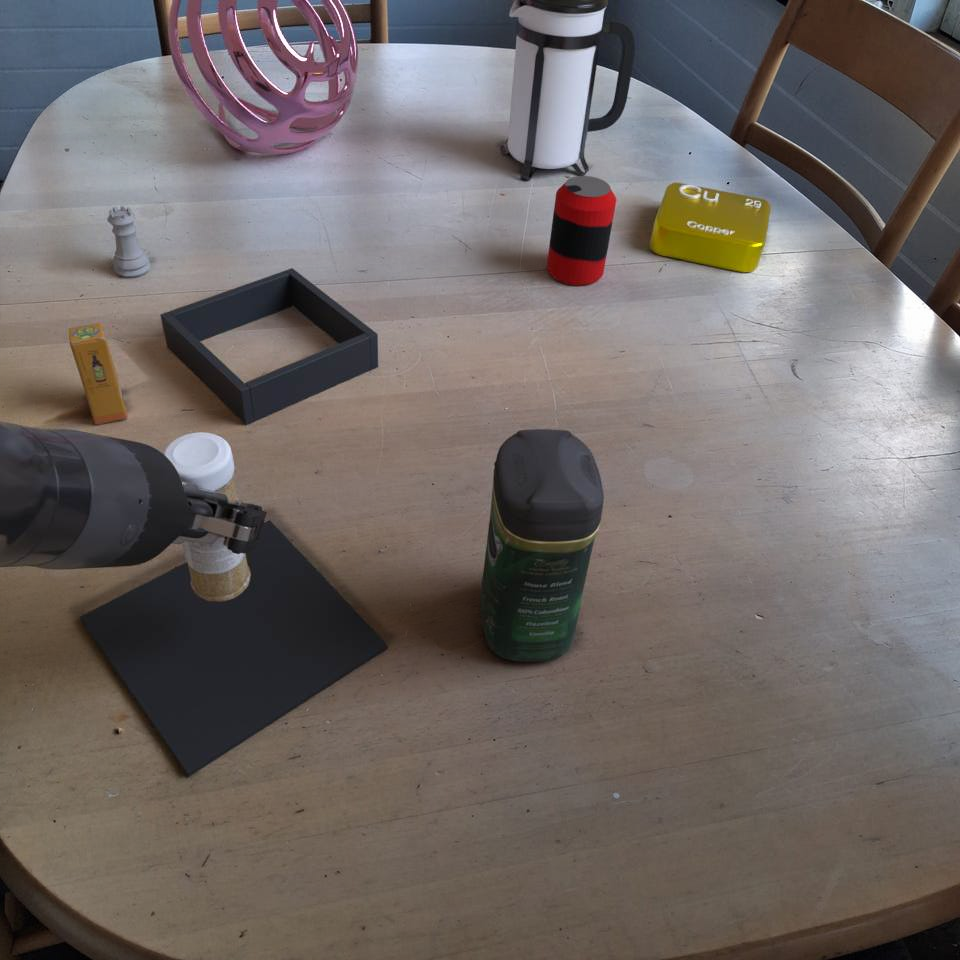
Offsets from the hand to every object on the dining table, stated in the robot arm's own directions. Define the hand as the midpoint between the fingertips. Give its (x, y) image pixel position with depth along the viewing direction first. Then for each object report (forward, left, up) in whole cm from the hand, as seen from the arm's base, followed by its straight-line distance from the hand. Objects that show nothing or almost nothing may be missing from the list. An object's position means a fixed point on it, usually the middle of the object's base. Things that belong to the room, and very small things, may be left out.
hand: (224, 510), depth 67 cm
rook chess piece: (+17, +56, -13) cm, 60 cm away
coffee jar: (+18, -15, -13) cm, 27 cm away
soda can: (+63, +23, -13) cm, 69 cm away
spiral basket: (+52, +78, -13) cm, 95 cm away
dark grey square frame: (+21, +30, -13) cm, 39 cm away
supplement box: (+3, +32, -13) cm, 34 cm away
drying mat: (-2, -1, -13) cm, 13 cm away
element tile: (+86, +18, -13) cm, 88 cm away
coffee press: (+84, +49, -13) cm, 99 cm away
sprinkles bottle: (-2, -1, -6) cm, 7 cm away
